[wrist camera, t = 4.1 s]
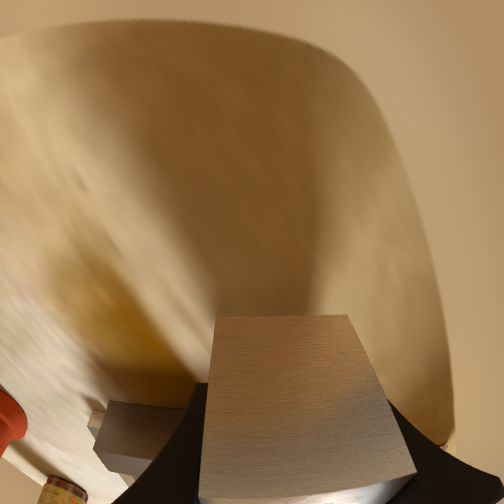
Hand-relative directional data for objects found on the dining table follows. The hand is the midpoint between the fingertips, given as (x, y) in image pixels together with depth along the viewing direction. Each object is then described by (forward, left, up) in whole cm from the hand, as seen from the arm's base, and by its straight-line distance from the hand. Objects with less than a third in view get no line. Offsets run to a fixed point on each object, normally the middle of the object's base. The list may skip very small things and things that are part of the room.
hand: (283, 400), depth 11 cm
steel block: (0, 0, -2) cm, 2 cm away
